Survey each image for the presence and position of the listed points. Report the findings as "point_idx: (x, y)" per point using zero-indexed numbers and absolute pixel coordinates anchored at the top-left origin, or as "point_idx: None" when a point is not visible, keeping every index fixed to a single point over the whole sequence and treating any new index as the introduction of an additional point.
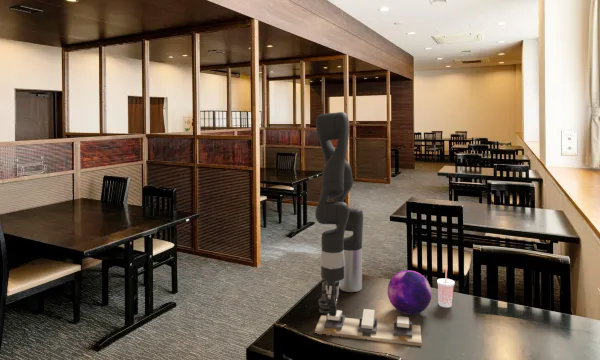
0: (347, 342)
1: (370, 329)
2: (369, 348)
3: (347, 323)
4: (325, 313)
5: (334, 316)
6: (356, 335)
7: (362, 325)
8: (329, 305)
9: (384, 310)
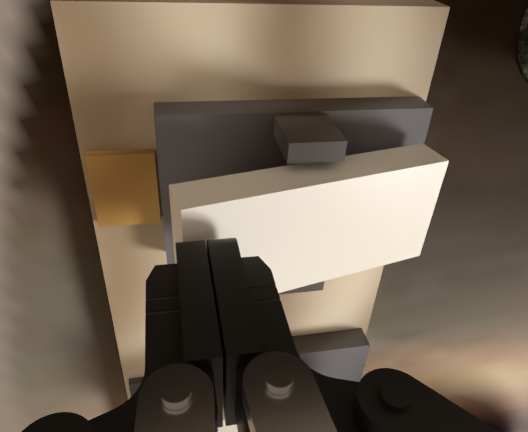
0: (36, 298)
1: None
2: (27, 408)
3: None
4: (522, 27)
5: None
6: (120, 351)
7: None
8: (184, 354)
9: (502, 377)
